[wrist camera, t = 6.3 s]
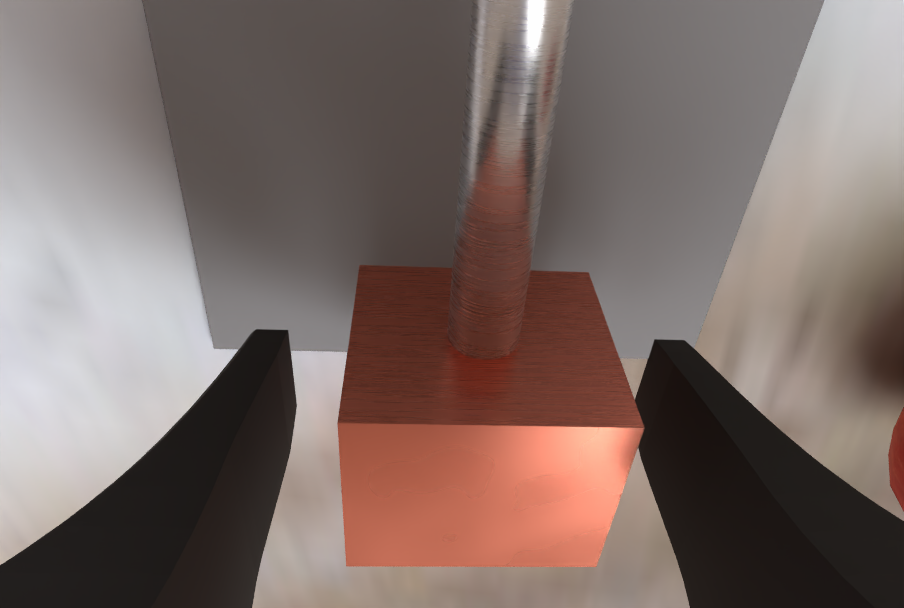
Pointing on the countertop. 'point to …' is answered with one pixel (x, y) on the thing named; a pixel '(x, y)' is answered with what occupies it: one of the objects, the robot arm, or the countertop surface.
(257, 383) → the robot arm
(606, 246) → the gray panel
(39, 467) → the countertop surface
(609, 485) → the copper cube mallet
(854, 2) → the countertop surface
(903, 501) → the onion
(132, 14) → the countertop surface
